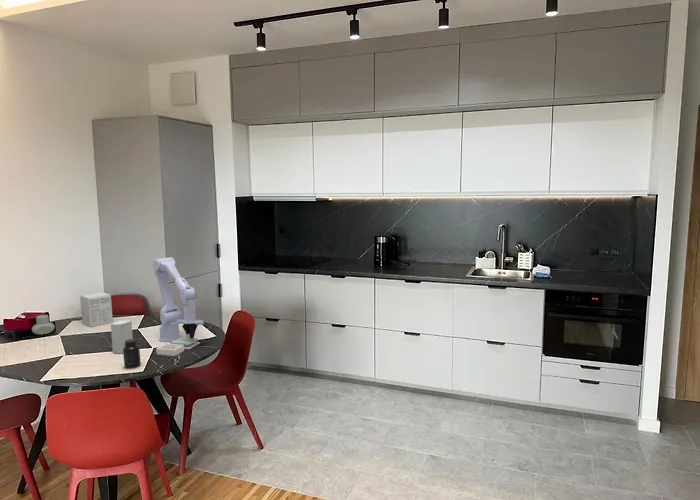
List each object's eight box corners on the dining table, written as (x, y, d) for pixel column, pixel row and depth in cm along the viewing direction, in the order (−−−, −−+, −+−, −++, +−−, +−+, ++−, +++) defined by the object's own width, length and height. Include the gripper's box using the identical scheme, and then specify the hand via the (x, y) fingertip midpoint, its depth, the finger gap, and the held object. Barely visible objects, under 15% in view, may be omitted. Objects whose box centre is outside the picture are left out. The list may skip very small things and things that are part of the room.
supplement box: (113, 322, 297) (111, 294, 295) (90, 327, 287) (88, 298, 285) (104, 319, 305) (102, 291, 303) (81, 323, 296) (79, 295, 293)
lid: (170, 345, 249) (169, 335, 248) (180, 340, 257) (179, 330, 256) (188, 346, 246) (187, 335, 245) (198, 341, 254) (197, 330, 253)
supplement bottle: (127, 363, 226) (125, 338, 224) (142, 363, 226) (141, 338, 225) (121, 369, 219) (120, 343, 217) (137, 368, 219) (135, 342, 218)
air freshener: (33, 337, 269) (31, 319, 268) (31, 333, 276) (29, 316, 274) (56, 333, 276) (54, 316, 275) (53, 330, 282) (52, 313, 281)
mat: (168, 347, 248) (168, 346, 248) (180, 341, 258) (180, 340, 258) (189, 349, 245) (189, 348, 245) (200, 342, 255) (200, 342, 255)
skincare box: (121, 354, 239) (119, 324, 237) (111, 353, 241) (109, 323, 239) (134, 348, 247) (132, 320, 245) (124, 347, 249) (122, 319, 247)
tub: (156, 354, 238) (156, 348, 237) (166, 349, 245) (166, 343, 245) (174, 356, 235) (174, 350, 235) (184, 350, 243) (183, 345, 242)
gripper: (172, 313, 247) (173, 339, 248) (197, 314, 243) (199, 341, 245) (180, 309, 253) (181, 335, 255) (205, 311, 250) (206, 337, 251)
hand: (190, 337), depth 250 cm, fingers closed on lid
